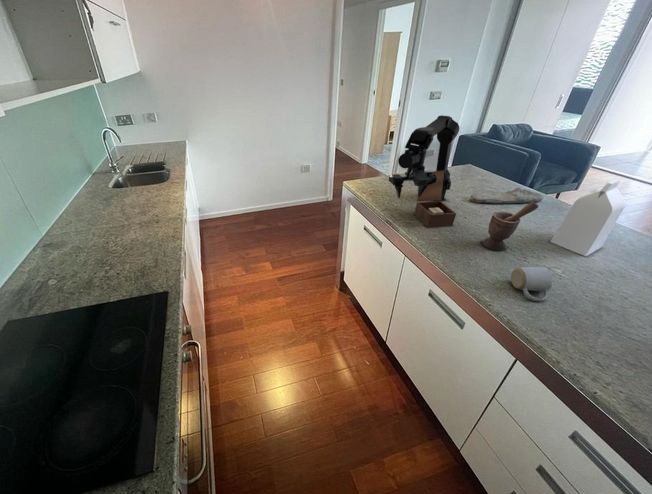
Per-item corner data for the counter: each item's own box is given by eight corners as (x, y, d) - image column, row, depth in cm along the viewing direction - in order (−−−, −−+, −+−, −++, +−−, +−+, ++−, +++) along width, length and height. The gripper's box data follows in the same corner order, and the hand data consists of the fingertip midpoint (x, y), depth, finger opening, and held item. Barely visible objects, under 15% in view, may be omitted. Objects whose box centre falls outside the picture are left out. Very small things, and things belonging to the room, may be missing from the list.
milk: (585, 256, 109) (628, 190, 95) (550, 241, 117) (584, 179, 103) (601, 247, 113) (643, 183, 99) (565, 234, 122) (600, 173, 108)
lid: (444, 170, 133) (443, 170, 133) (420, 172, 132) (419, 172, 132) (441, 200, 137) (440, 199, 137) (417, 201, 136) (416, 201, 137)
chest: (452, 225, 130) (456, 213, 126) (427, 227, 129) (431, 215, 126) (437, 212, 141) (440, 200, 137) (414, 214, 140) (417, 202, 136)
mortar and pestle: (506, 240, 119) (527, 194, 108) (519, 252, 112) (543, 205, 101) (477, 240, 120) (495, 194, 109) (488, 252, 112) (508, 205, 101)
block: (435, 216, 136) (438, 207, 134) (441, 221, 132) (443, 211, 130) (426, 216, 136) (428, 208, 133) (431, 221, 132) (433, 212, 129)
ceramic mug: (505, 279, 99) (515, 261, 95) (532, 280, 98) (542, 262, 94) (523, 302, 90) (534, 283, 86) (552, 303, 89) (565, 284, 85)
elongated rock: (464, 199, 155) (474, 208, 147) (467, 190, 152) (477, 199, 144) (533, 194, 153) (546, 203, 145) (537, 185, 150) (551, 194, 142)
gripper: (402, 170, 112) (395, 206, 121) (449, 167, 114) (439, 203, 122) (391, 161, 122) (385, 195, 130) (434, 158, 123) (425, 192, 132)
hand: (408, 197), depth 128 cm, fingers open, 9 cm apart
